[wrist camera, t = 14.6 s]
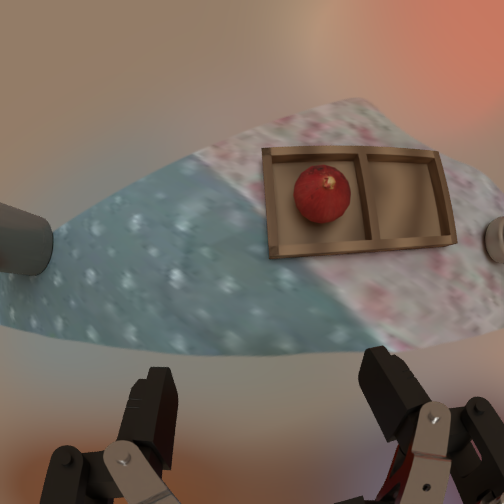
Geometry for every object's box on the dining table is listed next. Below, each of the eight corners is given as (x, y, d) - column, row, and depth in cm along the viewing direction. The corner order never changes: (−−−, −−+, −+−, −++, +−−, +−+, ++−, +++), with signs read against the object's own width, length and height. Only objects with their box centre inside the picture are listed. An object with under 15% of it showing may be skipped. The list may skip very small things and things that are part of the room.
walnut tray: (269, 259, 31) (269, 256, 28) (262, 159, 33) (261, 148, 30) (444, 246, 30) (457, 243, 27) (428, 160, 31) (438, 151, 28)
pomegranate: (286, 184, 31) (290, 153, 23) (334, 176, 31) (351, 145, 23) (297, 233, 31) (305, 216, 23) (346, 224, 30) (369, 205, 22)
